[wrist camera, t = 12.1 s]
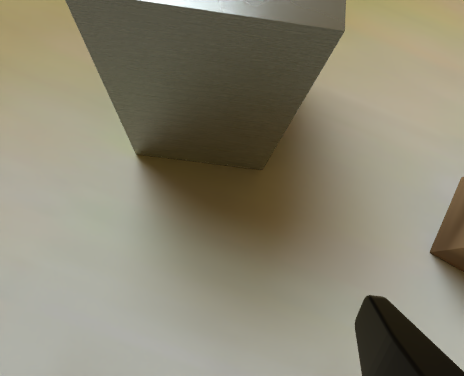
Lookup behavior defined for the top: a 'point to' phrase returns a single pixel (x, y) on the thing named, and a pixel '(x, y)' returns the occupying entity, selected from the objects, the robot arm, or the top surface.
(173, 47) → the grey tin
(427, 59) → the top surface
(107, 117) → the top surface
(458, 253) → the walnut block
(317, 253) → the top surface
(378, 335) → the robot arm
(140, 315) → the top surface
